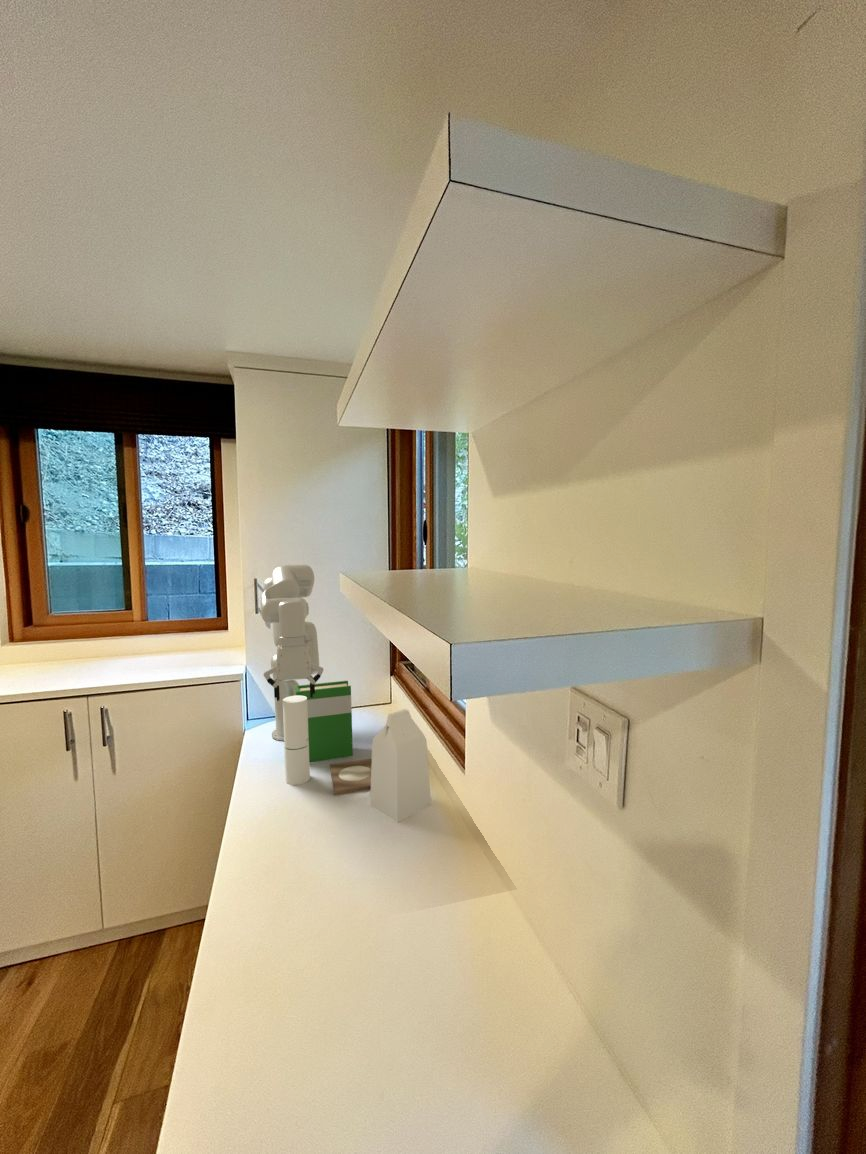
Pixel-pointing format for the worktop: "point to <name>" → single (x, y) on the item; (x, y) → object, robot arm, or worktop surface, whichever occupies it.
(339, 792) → the walnut board
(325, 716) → the hardback book
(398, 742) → the milk
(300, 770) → the cylindrical container
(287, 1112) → the worktop surface
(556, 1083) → the worktop surface
